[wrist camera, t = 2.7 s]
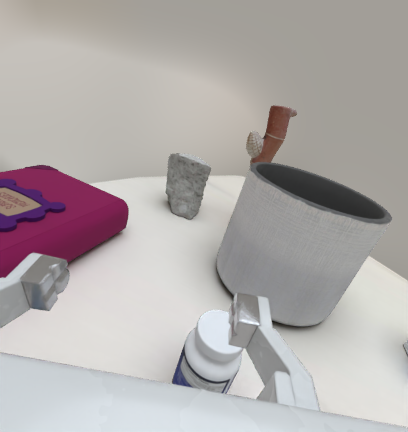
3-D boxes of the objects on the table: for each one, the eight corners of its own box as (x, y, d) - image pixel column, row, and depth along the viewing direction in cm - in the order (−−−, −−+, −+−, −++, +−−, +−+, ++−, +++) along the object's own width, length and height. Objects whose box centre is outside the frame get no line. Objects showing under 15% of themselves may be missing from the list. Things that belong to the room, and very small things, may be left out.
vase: (260, 228, 68) (309, 114, 55) (257, 240, 62) (311, 113, 49) (224, 214, 70) (263, 100, 57) (217, 224, 64) (259, 98, 51)
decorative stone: (207, 213, 68) (222, 161, 62) (186, 221, 61) (201, 163, 54) (178, 197, 72) (190, 147, 66) (156, 203, 65) (167, 147, 59)
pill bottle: (196, 355, 31) (220, 296, 27) (231, 395, 28) (264, 336, 24) (159, 384, 27) (179, 321, 23) (194, 436, 24) (226, 373, 20)
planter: (330, 282, 54) (383, 198, 45) (322, 361, 35) (411, 244, 27) (238, 236, 61) (268, 156, 52) (192, 281, 43) (227, 169, 34)
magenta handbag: (125, 233, 50) (131, 199, 46) (-50, 343, 25) (-65, 287, 22) (44, 195, 54) (44, 161, 51) (-171, 256, 30) (-198, 198, 26)
